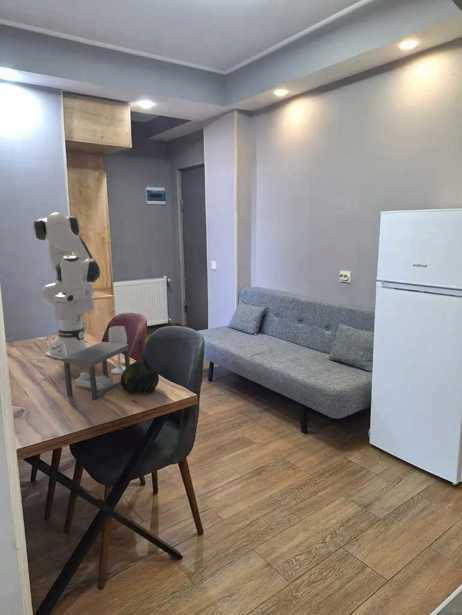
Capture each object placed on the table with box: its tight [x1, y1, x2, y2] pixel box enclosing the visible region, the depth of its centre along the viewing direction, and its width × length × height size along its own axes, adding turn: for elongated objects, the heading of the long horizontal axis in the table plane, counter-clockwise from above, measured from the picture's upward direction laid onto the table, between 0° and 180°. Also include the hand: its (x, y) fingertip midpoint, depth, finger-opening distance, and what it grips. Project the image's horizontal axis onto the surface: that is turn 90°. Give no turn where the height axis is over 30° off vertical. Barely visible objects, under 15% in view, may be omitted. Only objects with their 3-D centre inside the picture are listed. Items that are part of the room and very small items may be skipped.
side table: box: [62, 341, 131, 401], centre depth 176 cm, size 14×24×16 cm, turn 158°
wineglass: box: [108, 325, 128, 375], centre depth 194 cm, size 9×9×21 cm
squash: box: [120, 358, 160, 395], centre depth 171 cm, size 14×15×15 cm
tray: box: [75, 372, 113, 392], centre depth 179 cm, size 14×6×5 cm, turn 67°
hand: (76, 324), depth 183 cm, fingers closed
